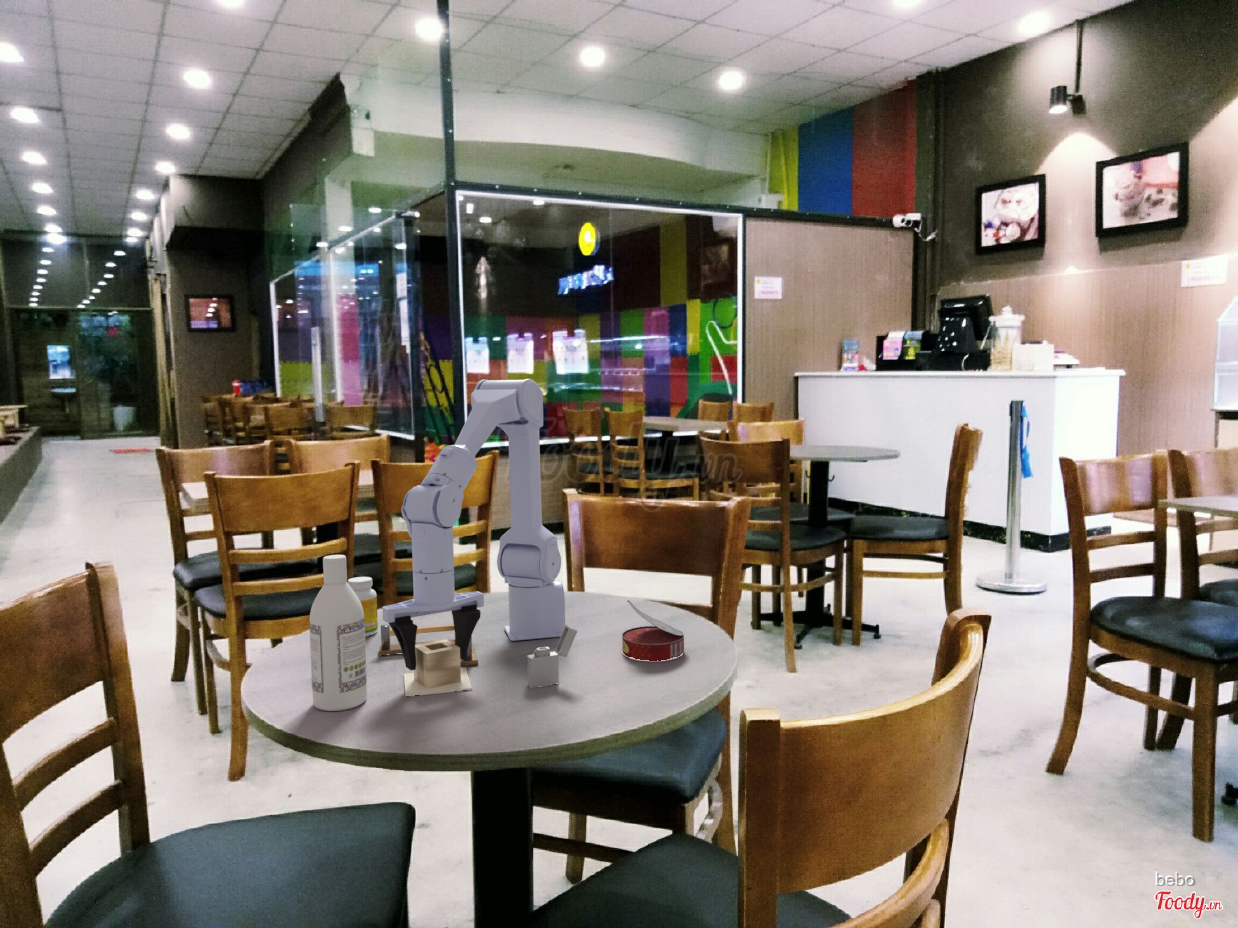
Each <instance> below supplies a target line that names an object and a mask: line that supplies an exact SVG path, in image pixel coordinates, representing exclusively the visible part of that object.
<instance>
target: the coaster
mask: <svg viewBox="0 0 1238 928" xmlns="http://www.w3.org/2000/svg"><path fill="white" fill-rule="evenodd" d="M460 669H461V682H457V683H453V684H448V685H444V686H439V687H435V688H431V689H427V688H425V687H424V686H423V685H421V684H420V683H419V682H417V681H416V680H414V672H408V673H403V680H404V681H403V682H404V696H405V698H407V697H406V696H410V697H416V696H415V695H420V696H426V695H438V694H446V693H455V692H454V691H457V692H464V691H463V690H467V691H472V690H473V689H472V685H471V684H472V683H471V680H470V678H469V675H468V669H467V667H460Z"/></svg>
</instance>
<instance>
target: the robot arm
mask: <svg viewBox="0 0 1238 928" xmlns="http://www.w3.org/2000/svg"><path fill="white" fill-rule="evenodd" d="M543 397H544V396H543V390H542V389H541V388H540V386H539V385H538V383H537V382H536V381H535V380H534V379H532V378H525V379H498V380H497V379H496V380H495V379H491V380H489V379H481V380H480V381H478V382H477V383H476V385H475V387H474V390H473V392H471V394H470V406H471V410H470V412H469V414H468V417H467V419H466V421H465V423H464V425H463V426H462V428H461V430H460V433H459V434H458V437H457V438H456V441H455V442H454V444H451V445H446V446H444V447H443V448H441V450H440V451H439V453H438V456H437V457H436V459H435V460H434V462H433V464H432V465H431V467H430V469H429V470H428V473H427V474H426V475H425V477H424V478H423V480H422V482H421V483H420V485H419V484H418V485H415V486H413V487H412V488H411V489H409V490H407V493H406V494H405V496H404V498H403V501H402V503H403V504H402V506H401V507H400V510H401V516H402V518H403V521H405V523H406V525H407V534H408V536H409V538H411V553H412V560H411V561H412V579H413V580H412V583H413V585H412V586H413V589H412V590H413V598H412V599H409V600H405V601H401V602H397V603H394V604H389V605H384V606H382V609H381V610H382V621H384V622H385V623H387V624H388V625H390V629H391V630H393V632H394V634H395V637H396V640H397V642H398V644H400V647H401V650H402V653H403V654H402V655H403V660H404V663H405V668H406V669H408V670H410V671H414V670H416V652H415V644H416V641H417V634H416V633H417V627H418V625H417V624H415V623H414V620H413V619H412V618H416V617H422V616H427V615H435V614H439V613H446V612H451V615H452V620H453V624H454V629H455V630H454V639H455V645H456V646H458V647H460V659H461V660H463V659H466V656H467V650H468V646H469V642H470V639H471V636H473V633H474V630H475V628H476V626H477V624H478V622H479V620H480V618H481V615H482V613H481V610H480V609H478V608H482V607H484V606H485V604H484V603H485V599H484V597H485V595H484V594H485V593H482V592H481V591H478V590H477V591H469V592H468V591H467V592H457V593H456V592H455V588H456V587H455V565H454V564H455V563H454V562H455V560H454V556H455V554H454V527H453V525H455V524H456V523H457V522H458V520H459V519H460V518H461V513H462V508H463V507H462V504H463V501H464V499H465V498H464V496H465V494H464V491H465V490H466V487H467V486H468V485H469V483H470V480H471V479H472V477H473V476H474V474H475V473H476V471H477V468H478V461H477V458H476V455H477V453H479V451H480V450H481V448H482V447H483V445H485V442H487V440H488V439H489V437H490V436H491V434H492V433H493V432H494V430H495V429H496V427H498V428H500V429H501V430H502V431H504V433H505V434H506V436H507V437H508V460H509V461H508V463H509V464H508V465H509V467H508V468H509V499H510V522H511V523H510V525H511V526H510V528H509V529H508V530H507V531H506V532H505V533H504V534H502V535H501V536H500V538H499V550H498V554H497V558H496V567H497V569H498V570H497V571H498V573H499V574H500V576H501V578H504V584H508V614H509V615H508V625H504V630H505V632H506V634H507V636H508V638H509V640H510V641H511V642H515V641H525V640H536V639H547V638H560V637H561V635H562V632H563V630H564V628H565V626H566V597H565V589H564V585H563V582H562V580H556V578H557V577H558V576H559V574H560V572H561V568H562V556H561V553H560V550H559V546H558V545H559V544H558V537H557V536H556V535H555V534H554V533H553V532H551V531H550V530H549V529H548V528H546V527H545V526H544V525H543V519H542V517H543V515H542V513H543V512H542V487H541V486H542V479H541V476H542V475H541V453H540V452H541V451H540V450H541V449H540V448H541V447H540V442H541V441H540V428H543V427H544V398H543Z"/></svg>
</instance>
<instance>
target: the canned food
mask: <svg viewBox="0 0 1238 928" xmlns="http://www.w3.org/2000/svg"><path fill="white" fill-rule="evenodd" d="M627 603H628V604H629V605H630V606H631V608H632V609H633V610H634V611H635V612H636V613H637V614H638V615H639V616H640V617H641V618H643V619H644V620H646V622H648V623H650V624H651V625H650V626H649V625H647V626H646V625H645V626H639V627H632V628H629V629H627V630H624V632H622V635H621V637H622V640H621V641H622V644H621V645H622V648H621V649H622V651H623V653H624V654H625V655H626V656H628V657H633V658H635V659H640V660H649V661H657V660H658V661H661V660H667V659H670V658H673V657H678V656H680V655H681V654H682V653H683V652H684V653H685V633H684V632H683V631H681V630H679V629H677V628H675V627H673V626H671V625H670V624H667V623H665V622H663V621H660V620H658V619H656V618H653V616H650V615H649V614H646V613H644V612H642V611H641V610H639V609H638V608H637V607H636V606H635V605H634V604H633V602H631V600H629V599H628V600H627ZM623 653H622V654H623Z"/></svg>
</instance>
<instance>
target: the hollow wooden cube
mask: <svg viewBox="0 0 1238 928" xmlns="http://www.w3.org/2000/svg"><path fill="white" fill-rule="evenodd" d="M448 640H449V639H446V638H445V639H440V640H439V641H438V640H433V641H434V642H428V643H423V644H418V645H415V652H416V670H413V673H414V680H416V681H417V682H419V683H420V684H421V685H423V686H424V687H425V688H427V689H431V688H435V687H439V686H444V685H448V684H453V683H457V682H461V669H460V668H461V667H460V647H458V646H456V645H455V644H453V643H451V642H450V641H448Z"/></svg>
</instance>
